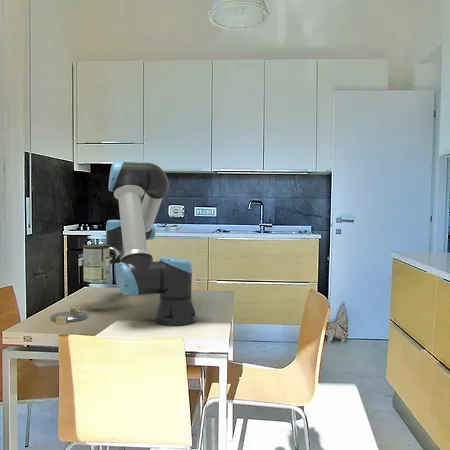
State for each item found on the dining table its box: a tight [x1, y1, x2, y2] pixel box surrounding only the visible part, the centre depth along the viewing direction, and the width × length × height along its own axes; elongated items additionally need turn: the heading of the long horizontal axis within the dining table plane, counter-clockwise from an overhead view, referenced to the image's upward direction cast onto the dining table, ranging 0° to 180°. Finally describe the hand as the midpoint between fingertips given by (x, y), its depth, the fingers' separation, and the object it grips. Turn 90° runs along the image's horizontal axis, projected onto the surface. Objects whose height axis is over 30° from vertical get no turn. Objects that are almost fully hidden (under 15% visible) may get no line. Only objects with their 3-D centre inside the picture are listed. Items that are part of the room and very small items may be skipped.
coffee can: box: [82, 243, 111, 283], centre depth 186 cm, size 10×10×14 cm
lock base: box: [50, 306, 88, 325], centre depth 174 cm, size 16×13×2 cm
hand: (93, 262), depth 181 cm, fingers closed on coffee can, 10 cm apart
